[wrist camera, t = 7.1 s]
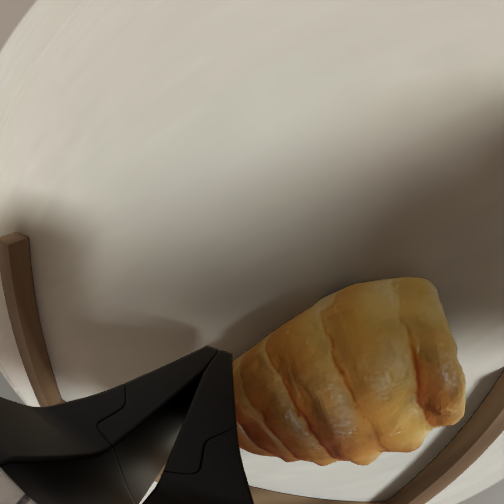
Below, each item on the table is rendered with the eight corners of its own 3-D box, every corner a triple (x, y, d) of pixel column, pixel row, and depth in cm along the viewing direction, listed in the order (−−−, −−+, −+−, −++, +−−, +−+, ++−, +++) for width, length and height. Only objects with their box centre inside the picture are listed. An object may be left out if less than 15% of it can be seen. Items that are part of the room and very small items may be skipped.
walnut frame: (523, 367, 8) (536, 385, 6) (392, 509, 12) (392, 525, 11) (16, 232, 12) (-4, 238, 11) (53, 402, 16) (42, 412, 15)
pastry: (267, 443, 12) (248, 504, 8) (187, 343, 11) (140, 402, 8) (454, 379, 9) (482, 442, 5) (413, 238, 8) (463, 280, 5)
